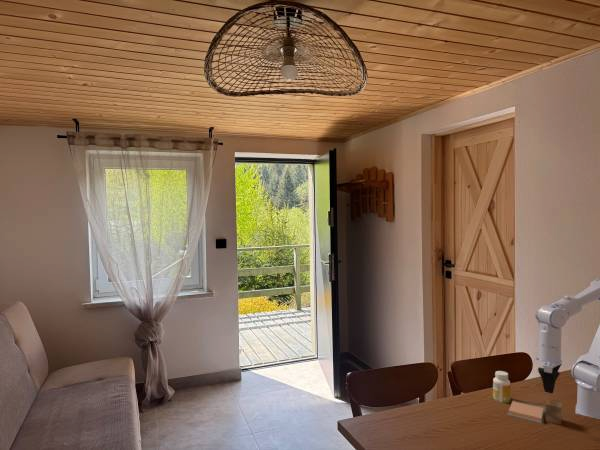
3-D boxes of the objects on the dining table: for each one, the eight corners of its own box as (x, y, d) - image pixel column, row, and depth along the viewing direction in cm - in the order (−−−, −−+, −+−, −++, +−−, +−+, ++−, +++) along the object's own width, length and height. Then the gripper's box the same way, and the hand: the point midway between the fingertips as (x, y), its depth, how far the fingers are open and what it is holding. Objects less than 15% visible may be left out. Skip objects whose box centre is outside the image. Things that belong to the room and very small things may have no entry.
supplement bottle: (510, 399, 142) (511, 371, 142) (509, 405, 138) (509, 377, 138) (494, 395, 145) (494, 368, 145) (491, 401, 141) (492, 374, 140)
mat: (546, 408, 135) (546, 407, 135) (543, 426, 125) (543, 424, 125) (512, 401, 141) (512, 399, 141) (506, 416, 130) (506, 415, 130)
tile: (543, 407, 132) (541, 418, 125) (543, 412, 132) (541, 422, 125) (512, 400, 137) (509, 410, 131) (512, 404, 137) (508, 414, 131)
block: (561, 421, 127) (561, 402, 127) (560, 427, 124) (561, 407, 124) (546, 417, 130) (546, 399, 130) (545, 423, 126) (545, 404, 126)
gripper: (538, 336, 135) (537, 376, 136) (532, 349, 124) (532, 393, 124) (563, 340, 131) (562, 381, 132) (560, 353, 120) (559, 399, 120)
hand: (549, 387), depth 128 cm, fingers open, 7 cm apart
